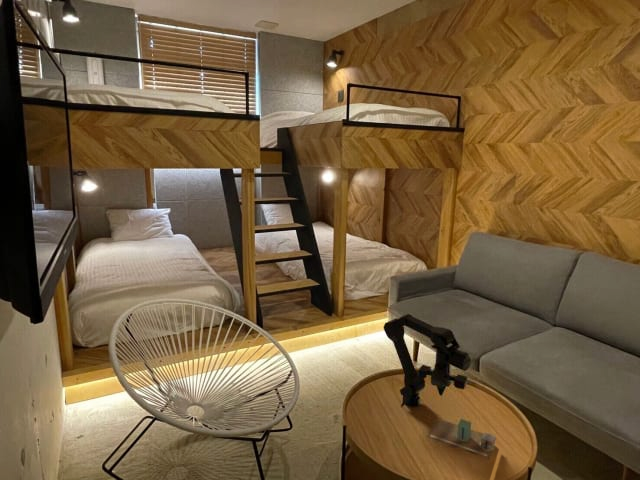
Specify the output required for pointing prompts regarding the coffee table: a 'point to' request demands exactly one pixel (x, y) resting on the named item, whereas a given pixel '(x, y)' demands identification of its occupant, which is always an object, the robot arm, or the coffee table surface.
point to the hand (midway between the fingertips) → (441, 395)
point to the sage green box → (464, 430)
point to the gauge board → (476, 444)
